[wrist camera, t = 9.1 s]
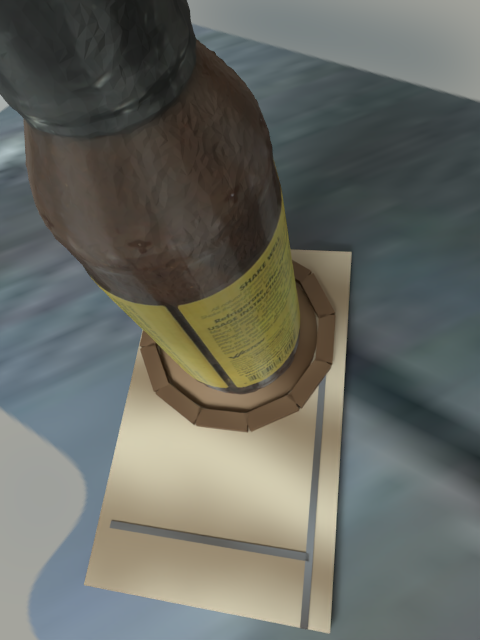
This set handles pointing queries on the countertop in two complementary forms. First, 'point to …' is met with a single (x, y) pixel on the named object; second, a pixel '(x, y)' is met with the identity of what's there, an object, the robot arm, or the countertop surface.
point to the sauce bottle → (157, 179)
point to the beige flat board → (234, 475)
